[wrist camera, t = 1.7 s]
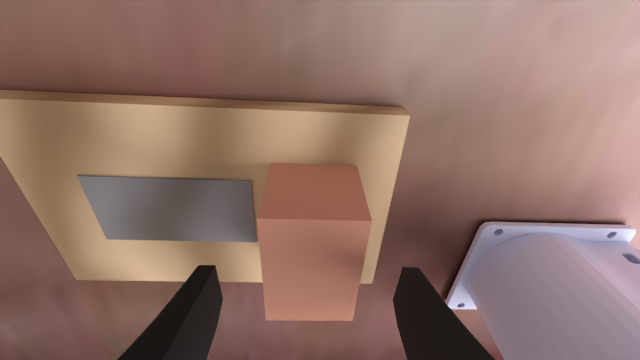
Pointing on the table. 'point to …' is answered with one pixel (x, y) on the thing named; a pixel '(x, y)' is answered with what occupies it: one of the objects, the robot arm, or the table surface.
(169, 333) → the robot arm
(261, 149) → the board
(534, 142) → the table surface
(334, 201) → the block
